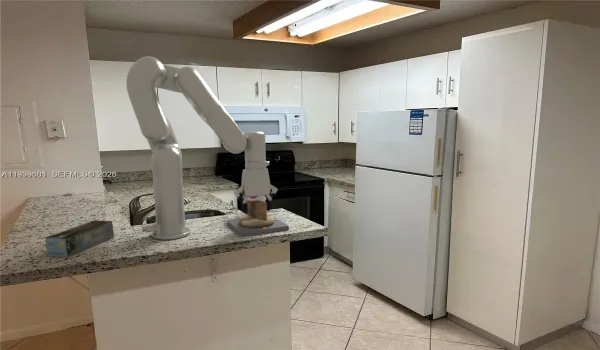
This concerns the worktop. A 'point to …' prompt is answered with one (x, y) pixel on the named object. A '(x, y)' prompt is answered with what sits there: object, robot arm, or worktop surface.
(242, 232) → the dial base
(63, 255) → the beverage carton
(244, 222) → the dial
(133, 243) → the worktop surface
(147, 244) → the worktop surface
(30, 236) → the worktop surface
